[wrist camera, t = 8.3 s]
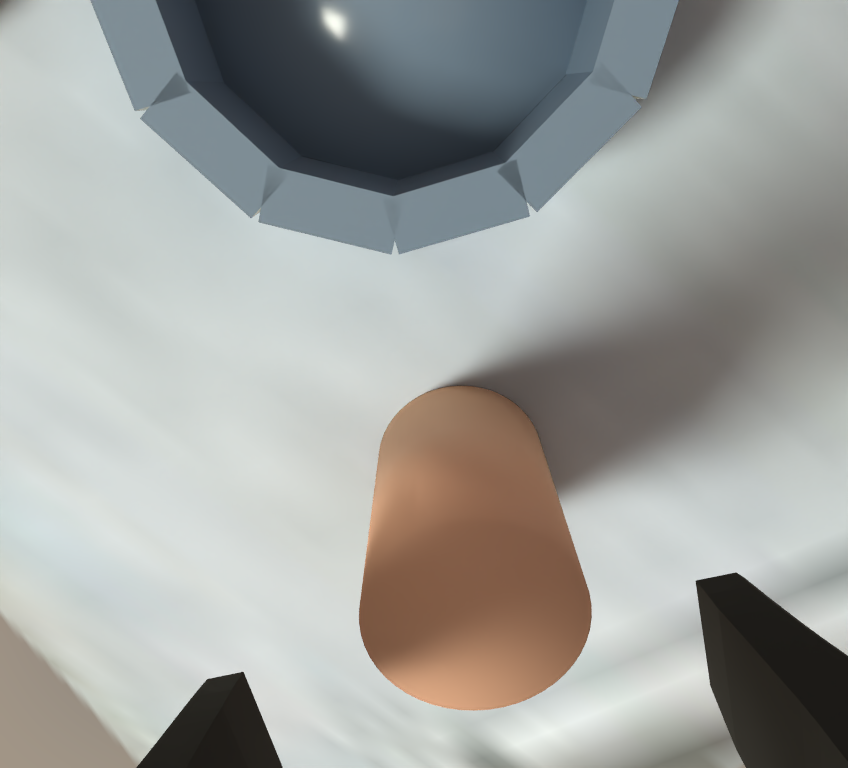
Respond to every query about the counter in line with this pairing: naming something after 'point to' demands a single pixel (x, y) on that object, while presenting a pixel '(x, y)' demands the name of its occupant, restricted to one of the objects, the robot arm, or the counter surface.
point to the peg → (469, 557)
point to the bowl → (386, 103)
